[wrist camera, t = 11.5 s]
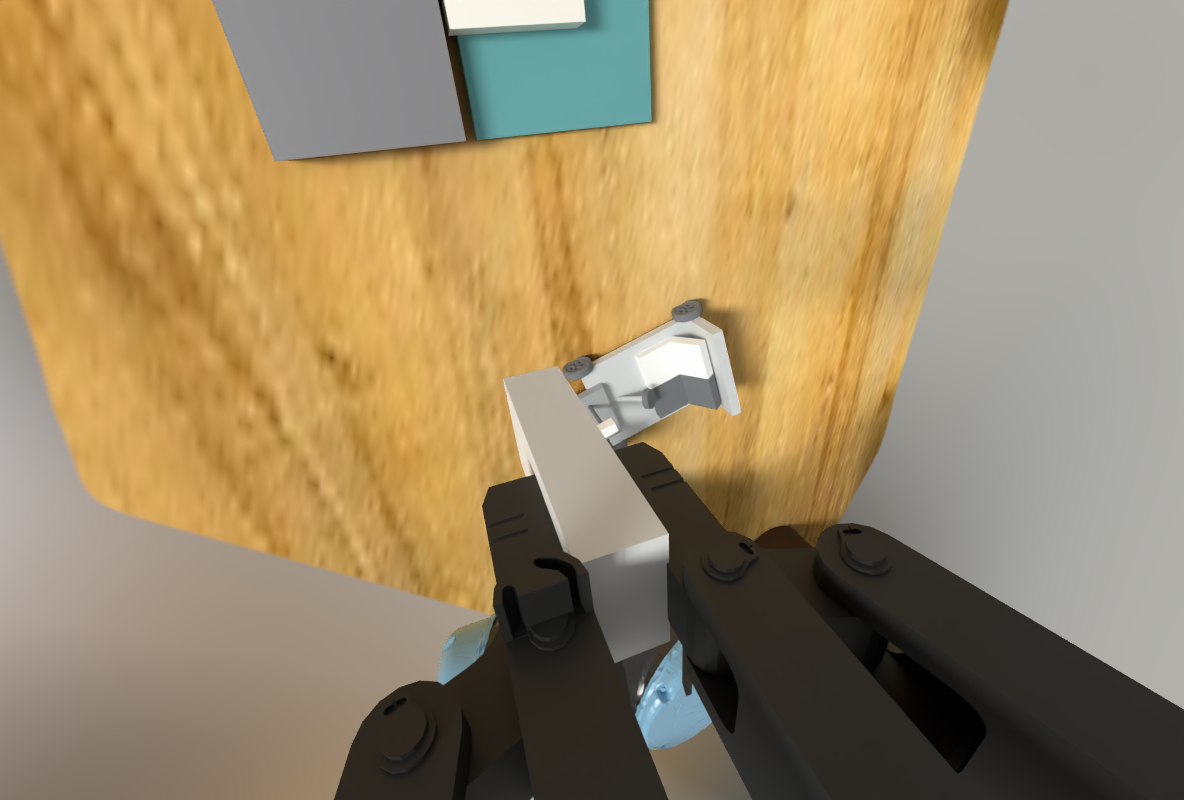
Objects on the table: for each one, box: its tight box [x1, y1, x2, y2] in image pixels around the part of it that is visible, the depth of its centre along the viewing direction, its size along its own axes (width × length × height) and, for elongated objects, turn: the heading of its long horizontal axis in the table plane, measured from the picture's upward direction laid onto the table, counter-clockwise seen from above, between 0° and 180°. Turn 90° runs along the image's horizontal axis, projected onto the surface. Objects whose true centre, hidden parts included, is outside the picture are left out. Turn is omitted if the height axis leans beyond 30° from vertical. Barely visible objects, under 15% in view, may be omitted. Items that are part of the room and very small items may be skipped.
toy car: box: [563, 300, 741, 450], centre depth 45 cm, size 18×10×12 cm
